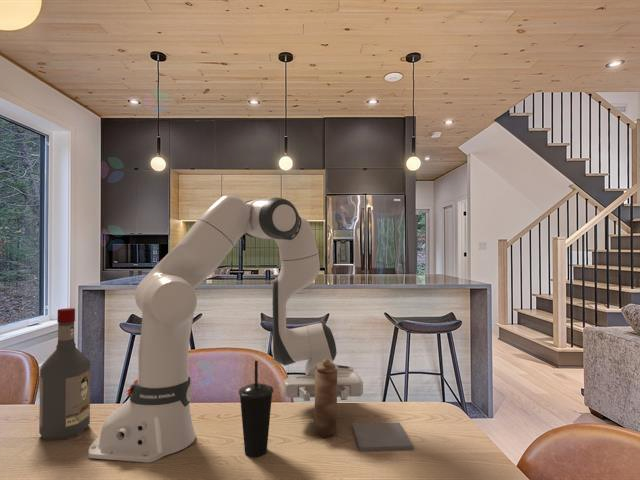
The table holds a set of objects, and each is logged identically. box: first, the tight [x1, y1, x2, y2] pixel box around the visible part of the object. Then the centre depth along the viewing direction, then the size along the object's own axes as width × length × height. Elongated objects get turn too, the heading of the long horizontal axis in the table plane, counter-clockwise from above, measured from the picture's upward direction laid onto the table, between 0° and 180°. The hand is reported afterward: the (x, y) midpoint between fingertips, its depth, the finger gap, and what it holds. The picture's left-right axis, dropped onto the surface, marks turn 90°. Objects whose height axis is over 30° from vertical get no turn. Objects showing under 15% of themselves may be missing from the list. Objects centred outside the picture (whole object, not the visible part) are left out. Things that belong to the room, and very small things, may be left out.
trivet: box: [351, 422, 414, 452], centre depth 96 cm, size 12×12×1 cm
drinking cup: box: [238, 360, 274, 458], centre depth 90 cm, size 8×8×20 cm
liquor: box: [38, 307, 91, 440], centre depth 100 cm, size 9×9×30 cm
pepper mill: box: [313, 359, 338, 439], centre depth 99 cm, size 5×5×18 cm
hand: (325, 397), depth 98 cm, fingers open, 8 cm apart
